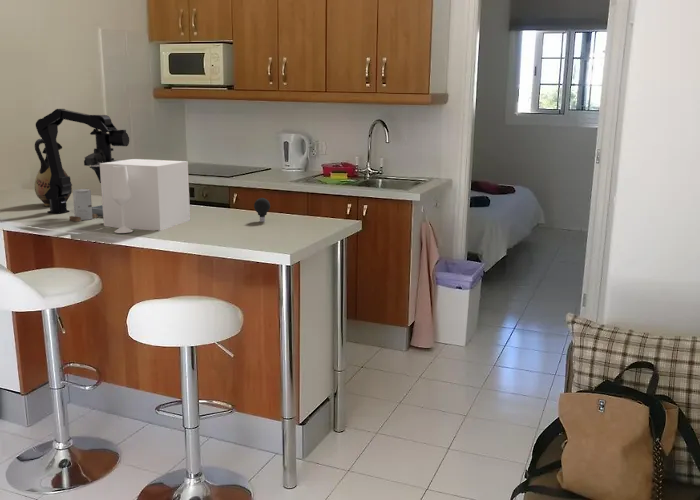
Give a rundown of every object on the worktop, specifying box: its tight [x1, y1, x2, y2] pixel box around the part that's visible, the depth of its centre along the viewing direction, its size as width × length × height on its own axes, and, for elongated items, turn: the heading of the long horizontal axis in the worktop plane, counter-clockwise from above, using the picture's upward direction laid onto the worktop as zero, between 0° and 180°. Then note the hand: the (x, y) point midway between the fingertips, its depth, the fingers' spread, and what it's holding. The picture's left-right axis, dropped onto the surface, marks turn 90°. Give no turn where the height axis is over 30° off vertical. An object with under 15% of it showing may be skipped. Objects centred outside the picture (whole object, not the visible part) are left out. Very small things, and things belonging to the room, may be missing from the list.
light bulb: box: [253, 197, 271, 223], centre depth 270 cm, size 6×6×10 cm
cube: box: [100, 158, 191, 232], centre depth 264 cm, size 25×21×24 cm
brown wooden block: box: [69, 214, 98, 222], centre depth 274 cm, size 5×10×2 cm, turn 152°
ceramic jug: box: [34, 138, 73, 207], centre depth 304 cm, size 17×15×30 cm
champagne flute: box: [112, 166, 134, 234], centre depth 248 cm, size 7×7×24 cm
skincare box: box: [72, 188, 93, 221], centre depth 272 cm, size 6×4×12 cm
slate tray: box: [92, 204, 103, 217], centre depth 287 cm, size 14×14×3 cm
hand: (106, 183), depth 282 cm, fingers open, 5 cm apart
